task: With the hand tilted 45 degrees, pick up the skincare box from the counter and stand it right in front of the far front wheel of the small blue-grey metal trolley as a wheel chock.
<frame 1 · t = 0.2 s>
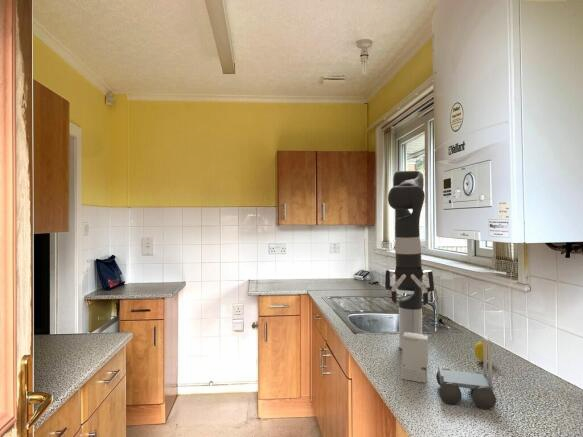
hand: (409, 303, 114), 28 cm above the table, tool pointing down, fingers open, 8 cm apart
lemon: (482, 362, 141), on the table
trolley: (464, 397, 114), on the table
skincare box: (414, 378, 127), on the table
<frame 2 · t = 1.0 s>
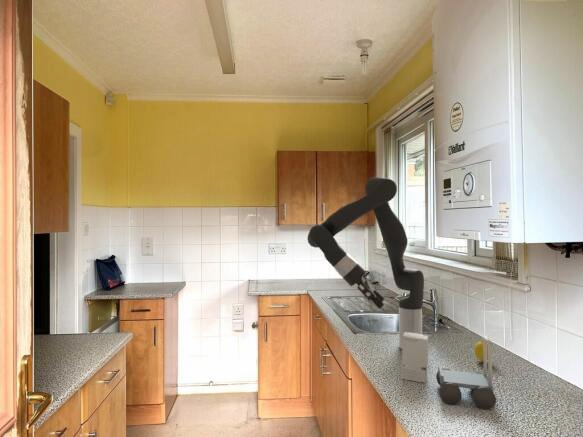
hand: (382, 304, 130), 25 cm above the table, tool tilted 45°, fingers open, 8 cm apart
nothing on the table moved.
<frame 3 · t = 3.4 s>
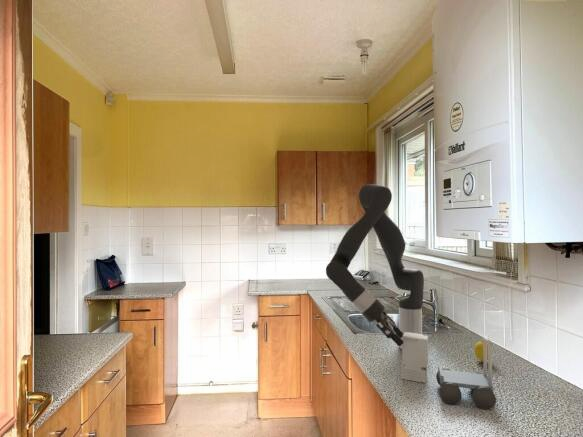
hand: (401, 340, 128), 12 cm above the table, tool tilted 45°, fingers open, 8 cm apart
nothing on the table moved.
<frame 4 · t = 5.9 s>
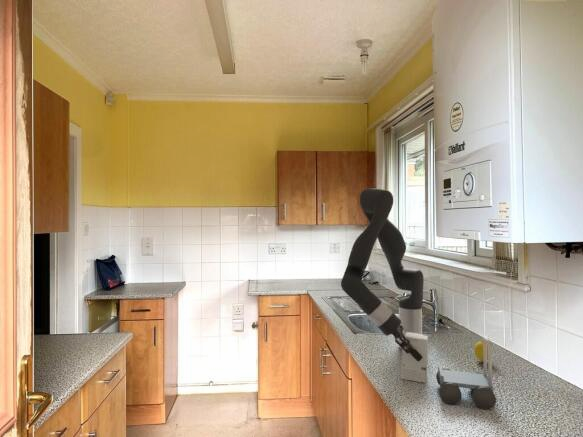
hand: (419, 355, 127), 8 cm above the table, tool tilted 45°, fingers closed on skincare box, 6 cm apart
skincare box: (414, 378, 127), on the table, touching gripper
everything else where it was.
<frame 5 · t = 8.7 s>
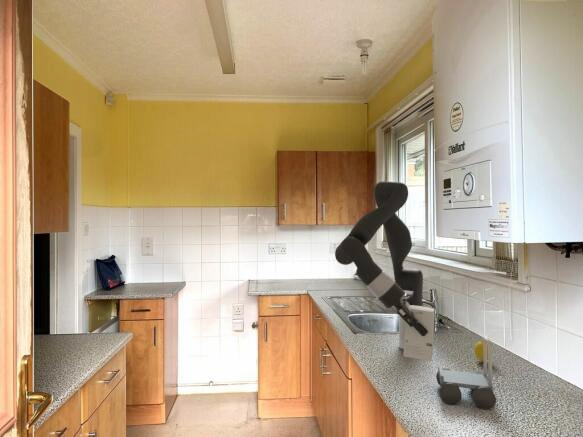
hand: (425, 330, 112), 21 cm above the table, tool tilted 45°, fingers closed on skincare box, 6 cm apart
skincare box: (418, 356, 113), point 13 cm above the table, touching gripper
everything else where it was.
when the fingers open (9 cm above the table, at t = 11.9 s): skincare box drops 1 cm, on the table.
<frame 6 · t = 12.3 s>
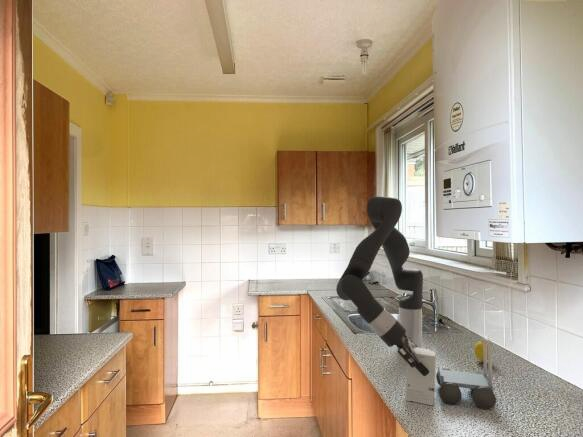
hand: (426, 368, 112), 10 cm above the table, tool tilted 45°, fingers open, 8 cm apart
skincare box: (420, 399, 112), on the table
everything else where it was.
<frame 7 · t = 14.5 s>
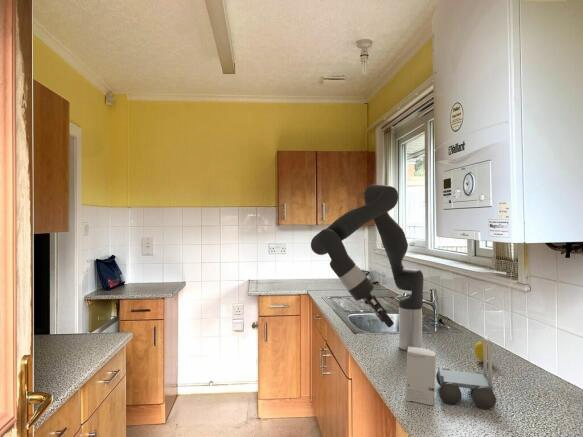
hand: (388, 323, 118), 21 cm above the table, tool tilted 40°, fingers open, 8 cm apart
nothing on the table moved.
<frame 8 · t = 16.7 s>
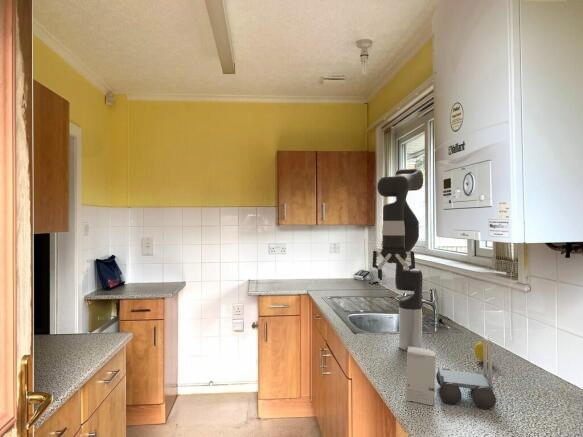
hand: (393, 280, 129), 33 cm above the table, tool pointing down, fingers open, 8 cm apart
nothing on the table moved.
at the end: skincare box 0.5 cm from the target spot, on the table; skincare box tilted 0°; the gripper is holding nothing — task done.
